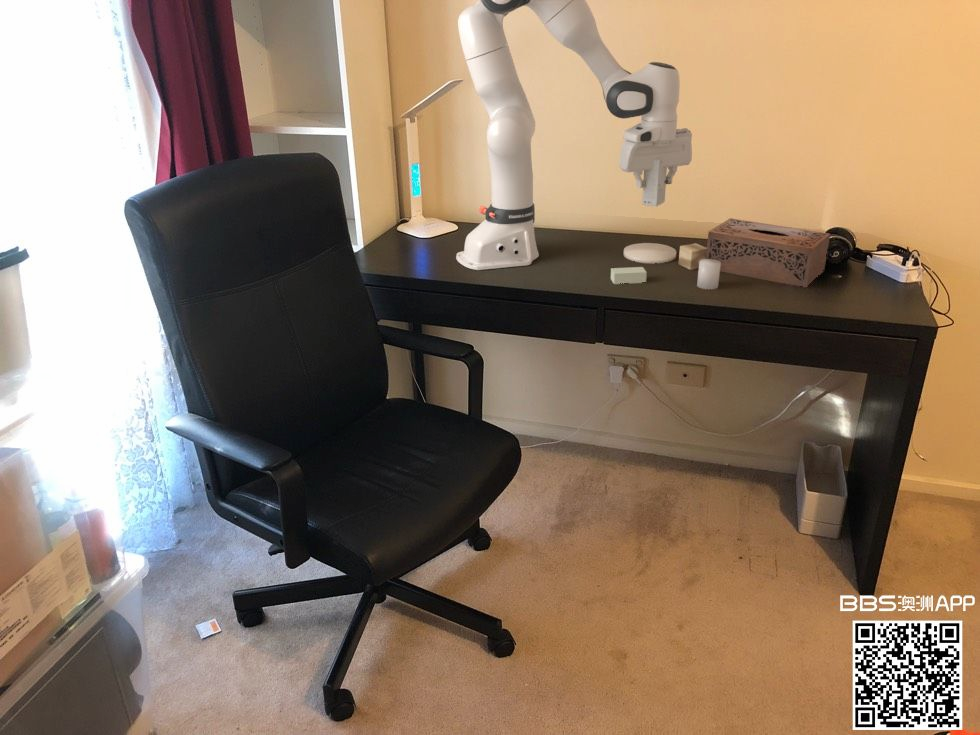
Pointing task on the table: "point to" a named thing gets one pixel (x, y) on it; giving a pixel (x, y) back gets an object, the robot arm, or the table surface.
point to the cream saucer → (649, 253)
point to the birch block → (691, 255)
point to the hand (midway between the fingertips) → (654, 185)
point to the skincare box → (654, 184)
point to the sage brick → (628, 275)
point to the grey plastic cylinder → (708, 274)
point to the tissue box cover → (768, 251)
